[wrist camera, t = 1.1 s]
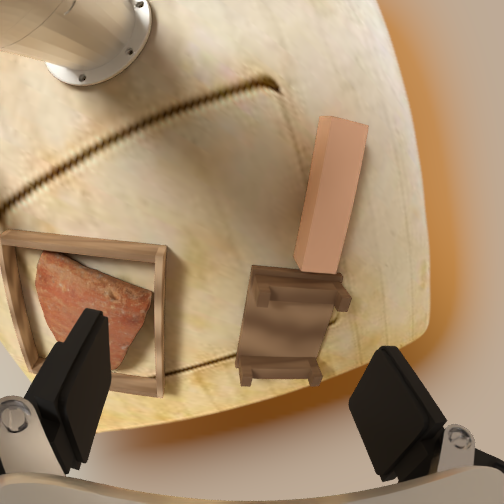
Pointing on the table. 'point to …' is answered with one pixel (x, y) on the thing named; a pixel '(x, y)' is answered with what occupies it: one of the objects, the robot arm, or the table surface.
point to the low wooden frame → (4, 255)
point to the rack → (286, 323)
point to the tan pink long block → (330, 194)
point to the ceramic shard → (89, 301)
